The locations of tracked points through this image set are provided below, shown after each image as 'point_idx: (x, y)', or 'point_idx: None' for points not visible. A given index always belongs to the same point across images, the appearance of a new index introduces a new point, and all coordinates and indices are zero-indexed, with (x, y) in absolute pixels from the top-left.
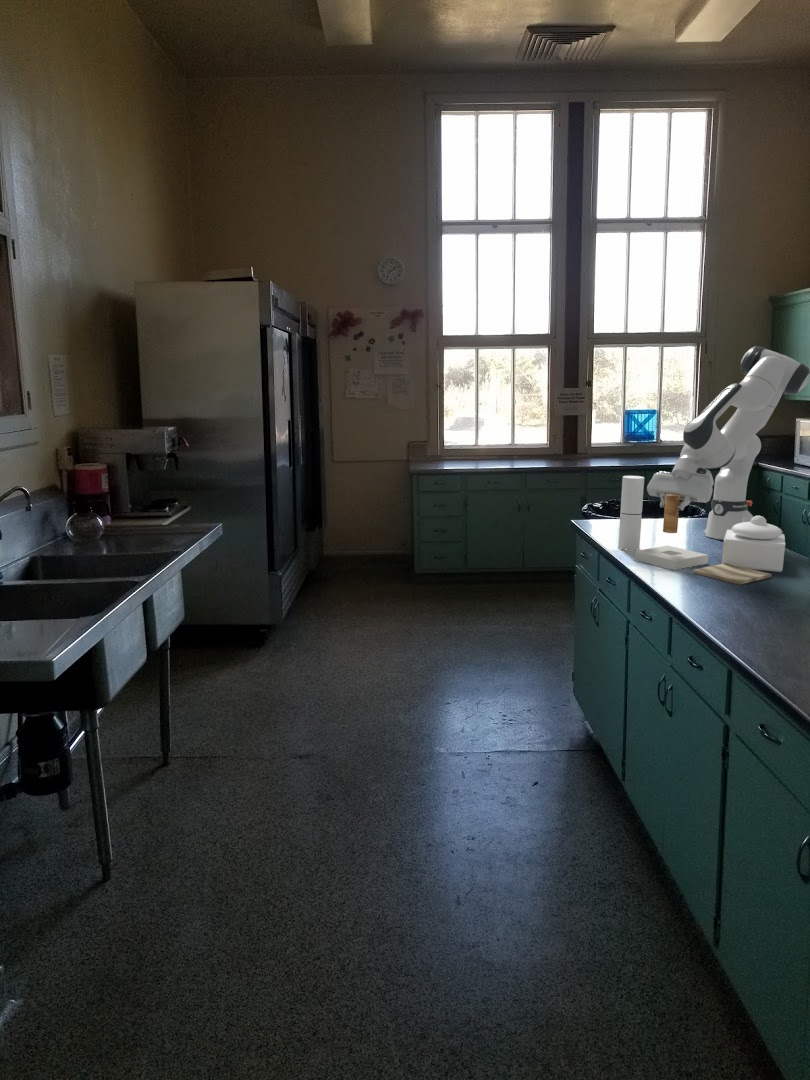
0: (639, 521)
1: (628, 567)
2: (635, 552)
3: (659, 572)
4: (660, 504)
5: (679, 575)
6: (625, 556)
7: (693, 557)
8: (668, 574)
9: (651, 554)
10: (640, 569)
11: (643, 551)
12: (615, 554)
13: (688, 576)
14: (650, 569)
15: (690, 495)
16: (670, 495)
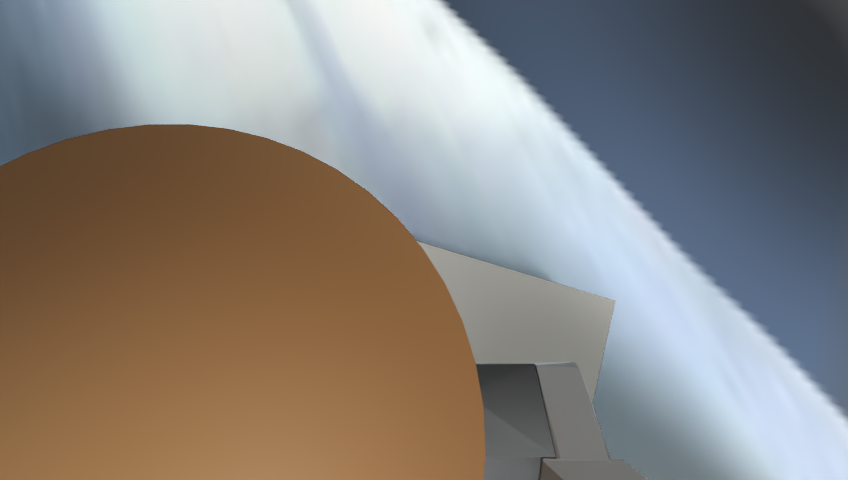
0: None
1: (509, 74)
2: (604, 300)
3: (274, 77)
4: (554, 365)
5: (127, 85)
6: (717, 399)
7: None
8: (202, 64)
9: (437, 268)
10: (416, 73)
11: (548, 336)
12: (821, 414)
13: (63, 97)
14: (359, 116)
15: None
16: (187, 223)
